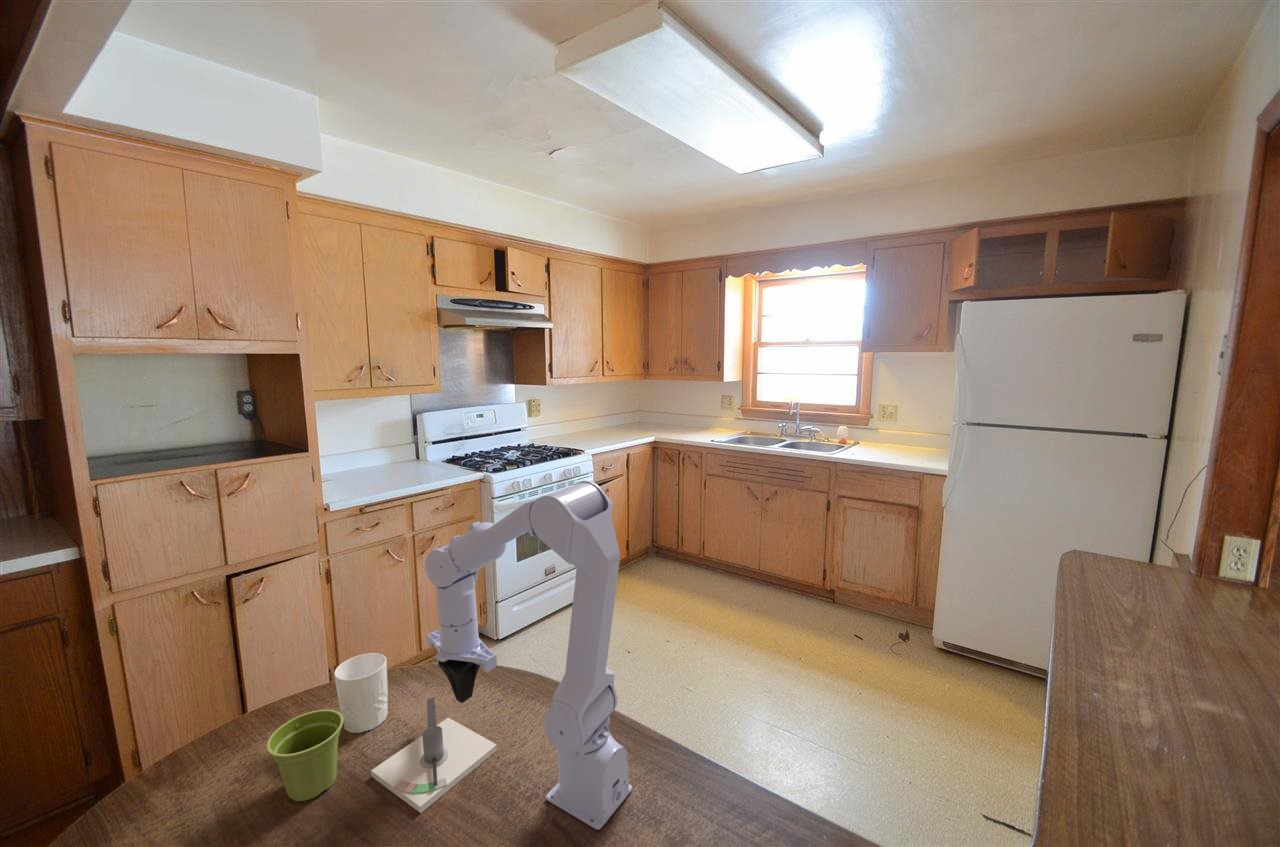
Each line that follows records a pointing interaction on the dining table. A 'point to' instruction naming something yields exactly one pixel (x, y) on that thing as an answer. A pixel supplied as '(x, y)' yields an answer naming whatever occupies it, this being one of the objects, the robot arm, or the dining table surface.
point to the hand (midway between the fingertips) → (464, 698)
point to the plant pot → (307, 752)
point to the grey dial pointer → (432, 739)
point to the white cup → (362, 691)
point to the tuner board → (415, 775)
